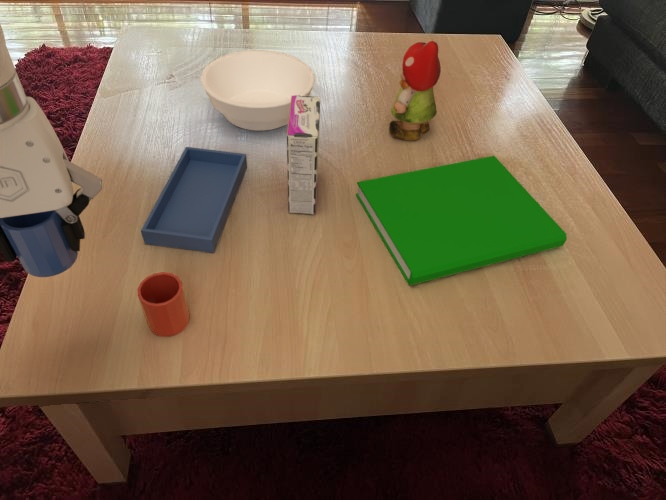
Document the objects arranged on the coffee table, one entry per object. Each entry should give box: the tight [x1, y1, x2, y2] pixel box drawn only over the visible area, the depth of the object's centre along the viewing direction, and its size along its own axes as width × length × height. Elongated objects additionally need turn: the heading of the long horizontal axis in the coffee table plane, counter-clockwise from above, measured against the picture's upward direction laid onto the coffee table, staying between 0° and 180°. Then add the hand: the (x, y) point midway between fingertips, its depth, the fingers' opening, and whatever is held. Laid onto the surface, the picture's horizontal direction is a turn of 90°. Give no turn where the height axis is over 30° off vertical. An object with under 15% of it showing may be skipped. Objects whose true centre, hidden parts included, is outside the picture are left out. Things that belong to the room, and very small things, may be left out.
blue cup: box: [0, 210, 79, 278], centre depth 56 cm, size 6×6×7 cm
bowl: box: [200, 49, 316, 131], centre depth 107 cm, size 22×22×8 cm
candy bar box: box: [286, 95, 321, 216], centre depth 87 cm, size 11×5×16 cm, turn 179°
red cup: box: [136, 271, 190, 338], centre depth 71 cm, size 6×6×7 cm
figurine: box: [388, 40, 442, 141], centre depth 101 cm, size 11×9×20 cm
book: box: [355, 155, 568, 286], centre depth 90 cm, size 22×28×3 cm
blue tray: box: [140, 146, 248, 254], centre depth 89 cm, size 22×11×3 cm, turn 173°
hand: (45, 246), depth 57 cm, fingers closed on blue cup, 5 cm apart
